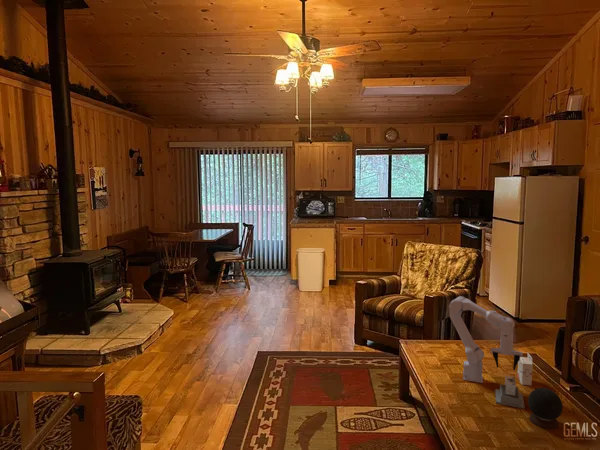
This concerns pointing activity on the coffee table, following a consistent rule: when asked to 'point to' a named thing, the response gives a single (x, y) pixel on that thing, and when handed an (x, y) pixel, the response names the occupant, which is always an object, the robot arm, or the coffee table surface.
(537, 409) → the black ball on base
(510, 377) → the housing
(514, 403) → the stand
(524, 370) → the ink cartridge box
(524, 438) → the coffee table surface
